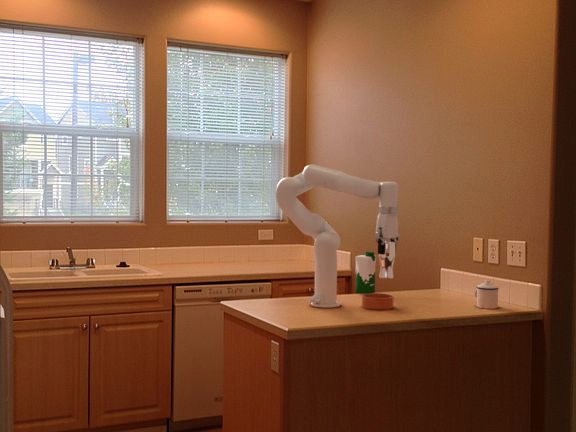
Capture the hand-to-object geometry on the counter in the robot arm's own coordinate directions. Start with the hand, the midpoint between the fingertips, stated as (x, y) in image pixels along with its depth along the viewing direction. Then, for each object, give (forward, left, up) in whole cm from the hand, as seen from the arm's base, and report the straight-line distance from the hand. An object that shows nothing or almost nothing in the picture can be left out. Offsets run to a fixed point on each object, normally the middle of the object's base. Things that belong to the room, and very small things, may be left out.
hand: (386, 253), depth 275 cm
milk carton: (+27, +32, -24) cm, 48 cm away
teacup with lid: (+36, -26, -24) cm, 50 cm away
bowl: (0, +4, -23) cm, 24 cm away
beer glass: (0, 0, -10) cm, 10 cm away
